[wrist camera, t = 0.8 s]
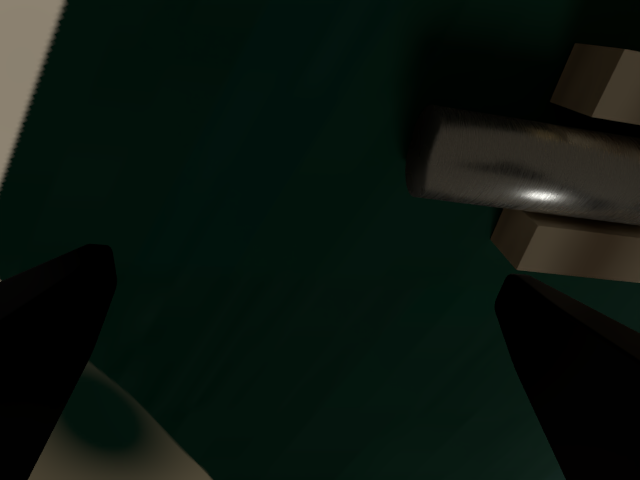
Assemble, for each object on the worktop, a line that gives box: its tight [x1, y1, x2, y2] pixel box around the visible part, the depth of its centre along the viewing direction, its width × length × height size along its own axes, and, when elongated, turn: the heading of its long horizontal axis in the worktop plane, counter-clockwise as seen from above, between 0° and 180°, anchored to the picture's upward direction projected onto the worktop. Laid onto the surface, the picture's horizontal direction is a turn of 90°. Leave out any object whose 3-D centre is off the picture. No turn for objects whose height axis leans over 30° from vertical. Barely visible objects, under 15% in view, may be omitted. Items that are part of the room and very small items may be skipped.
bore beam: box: [490, 43, 640, 283], centre depth 19 cm, size 8×10×3 cm
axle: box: [405, 105, 640, 226], centre depth 18 cm, size 14×4×4 cm, turn 81°
